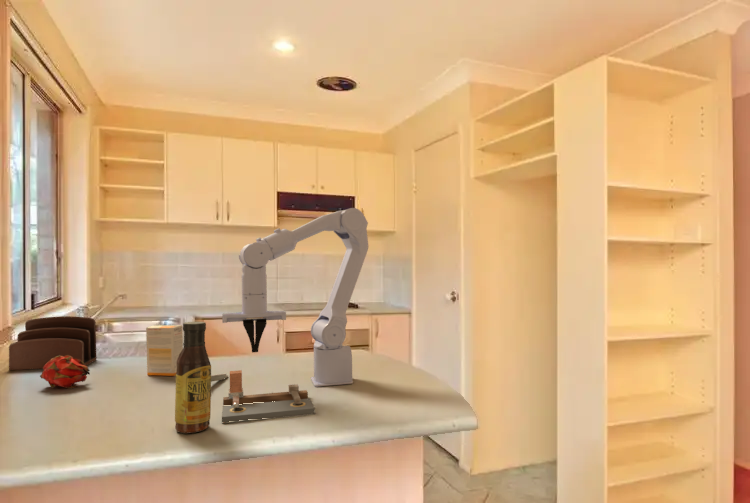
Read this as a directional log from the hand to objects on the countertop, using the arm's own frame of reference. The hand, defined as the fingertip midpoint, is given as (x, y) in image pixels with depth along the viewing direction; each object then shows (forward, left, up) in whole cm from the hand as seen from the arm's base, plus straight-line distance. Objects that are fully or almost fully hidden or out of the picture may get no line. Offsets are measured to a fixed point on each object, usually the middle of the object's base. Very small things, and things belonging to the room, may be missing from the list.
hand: (255, 351), depth 117 cm
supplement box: (+23, -25, -10) cm, 35 cm away
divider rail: (-2, +13, -9) cm, 16 cm away
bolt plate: (-2, +17, -9) cm, 20 cm away
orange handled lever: (+4, +12, -8) cm, 15 cm away
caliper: (+11, -7, -10) cm, 16 cm away
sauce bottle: (+12, +22, -10) cm, 27 cm away
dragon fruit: (+45, -19, -10) cm, 50 cm away
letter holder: (+56, -47, -10) cm, 74 cm away
